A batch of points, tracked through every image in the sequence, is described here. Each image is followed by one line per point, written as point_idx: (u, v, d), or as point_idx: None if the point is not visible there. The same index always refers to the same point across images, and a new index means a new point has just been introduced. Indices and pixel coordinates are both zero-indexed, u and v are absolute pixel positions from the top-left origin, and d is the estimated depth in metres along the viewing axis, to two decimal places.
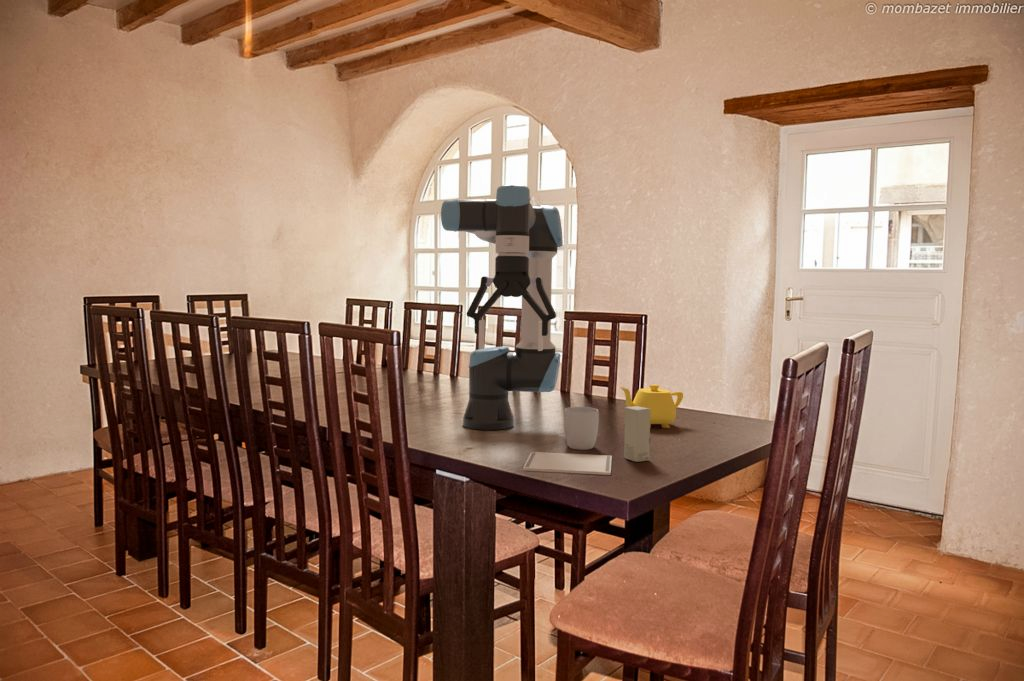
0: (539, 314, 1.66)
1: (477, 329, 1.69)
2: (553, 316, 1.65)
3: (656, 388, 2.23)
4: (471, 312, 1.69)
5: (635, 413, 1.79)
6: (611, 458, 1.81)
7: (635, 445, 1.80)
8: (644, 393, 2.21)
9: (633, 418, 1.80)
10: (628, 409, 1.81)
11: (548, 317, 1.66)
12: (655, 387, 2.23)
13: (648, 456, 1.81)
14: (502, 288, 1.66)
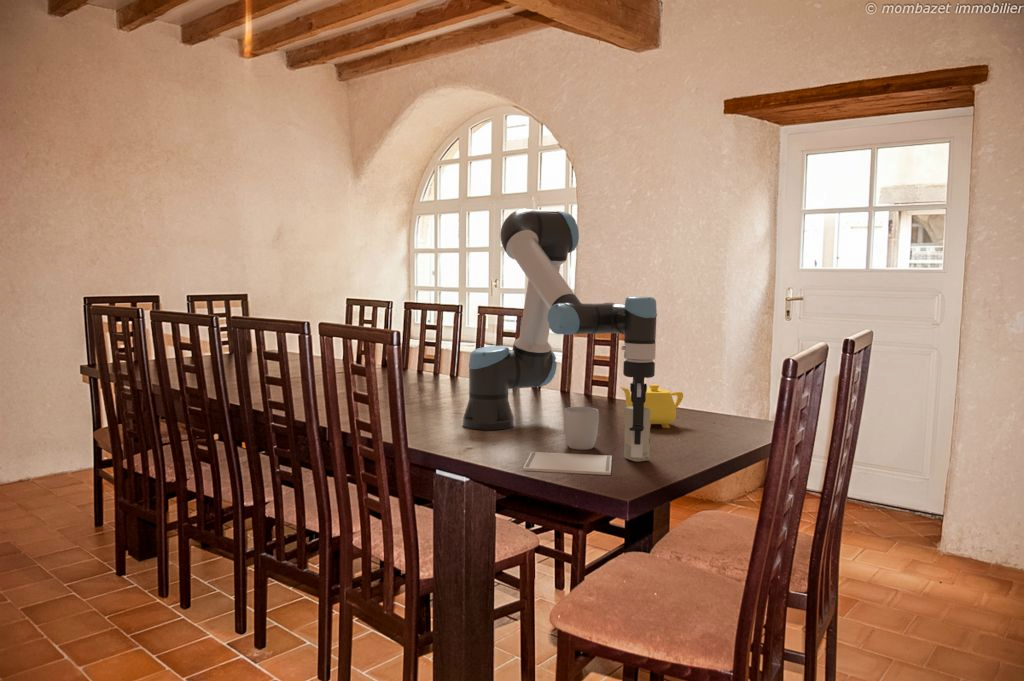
0: None
1: None
2: (632, 427, 1.76)
3: (656, 388, 2.23)
4: None
5: None
6: (611, 458, 1.81)
7: None
8: None
9: None
10: (628, 409, 1.81)
11: None
12: (655, 387, 2.23)
13: (648, 456, 1.81)
14: None
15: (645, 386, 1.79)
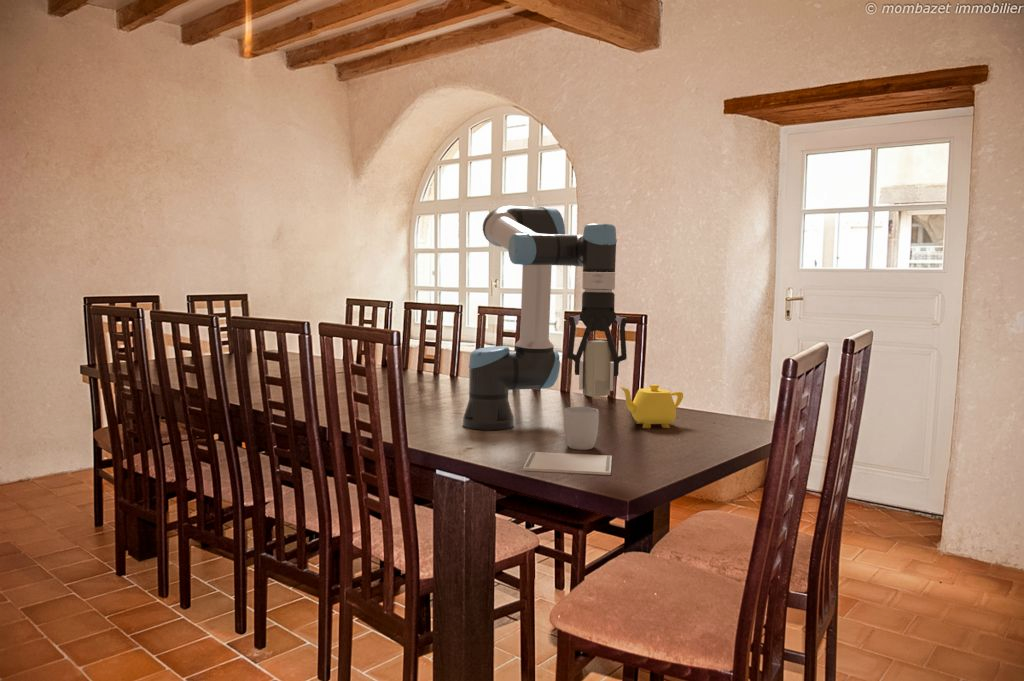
0: (613, 354, 1.72)
1: (577, 370, 1.74)
2: (624, 358, 1.72)
3: (656, 388, 2.23)
4: (571, 353, 1.74)
5: (608, 345, 1.73)
6: (611, 458, 1.81)
7: (608, 378, 1.74)
8: (644, 393, 2.21)
9: (606, 351, 1.73)
10: (599, 343, 1.72)
11: (619, 358, 1.73)
12: (655, 387, 2.23)
13: None
14: (591, 323, 1.72)
15: None
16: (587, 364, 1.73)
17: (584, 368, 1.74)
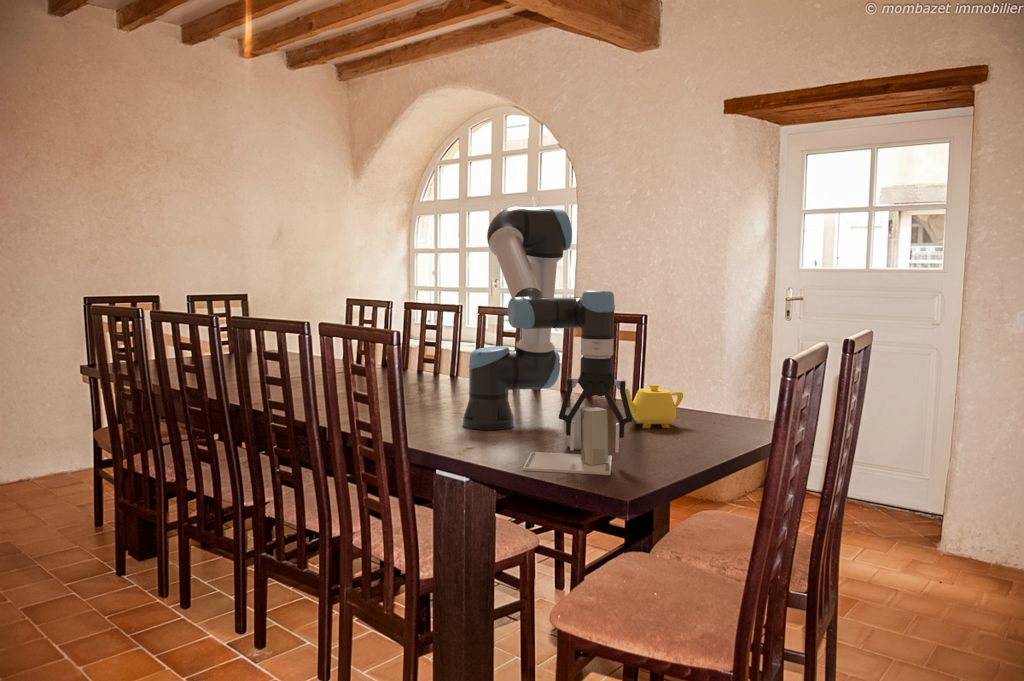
0: (618, 417, 1.73)
1: (568, 431, 1.76)
2: (630, 420, 1.73)
3: (656, 388, 2.23)
4: (563, 414, 1.75)
5: (605, 413, 1.74)
6: (611, 458, 1.81)
7: (606, 445, 1.75)
8: (644, 393, 2.21)
9: (603, 419, 1.74)
10: (596, 412, 1.73)
11: (625, 420, 1.74)
12: (655, 387, 2.23)
13: None
14: (589, 389, 1.73)
15: None
16: (584, 432, 1.75)
17: (582, 436, 1.76)
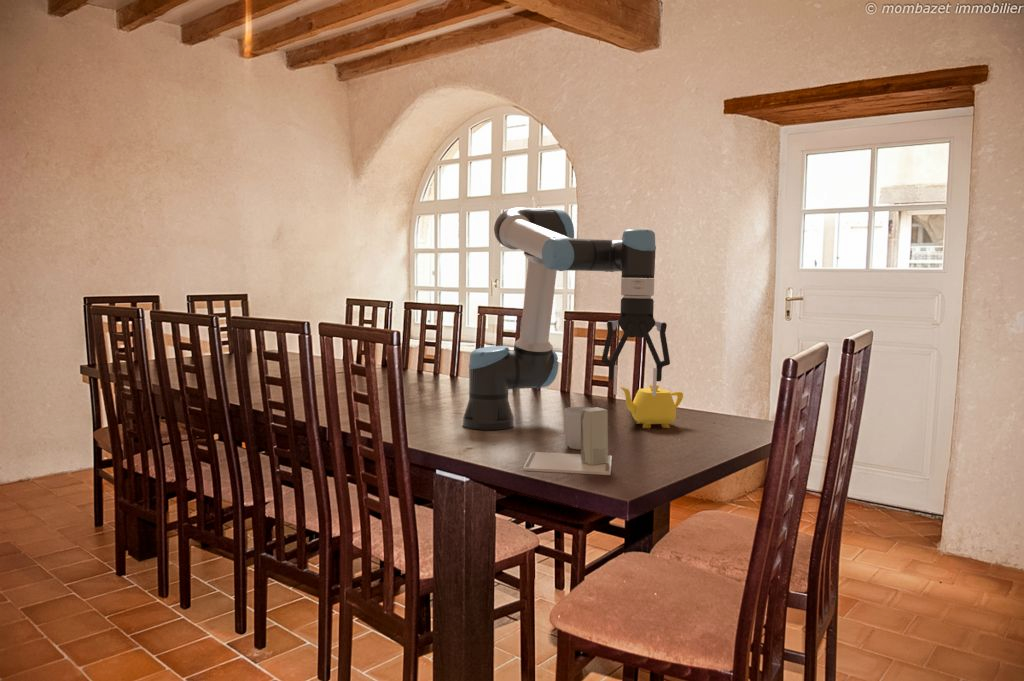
0: (655, 359, 1.71)
1: (611, 375, 1.73)
2: (668, 363, 1.71)
3: (656, 388, 2.23)
4: (605, 358, 1.73)
5: (605, 413, 1.74)
6: (611, 458, 1.81)
7: (606, 445, 1.75)
8: (644, 393, 2.21)
9: (603, 419, 1.74)
10: (596, 412, 1.73)
11: (663, 363, 1.71)
12: None
13: None
14: (630, 330, 1.71)
15: None
16: (584, 432, 1.75)
17: (582, 436, 1.76)
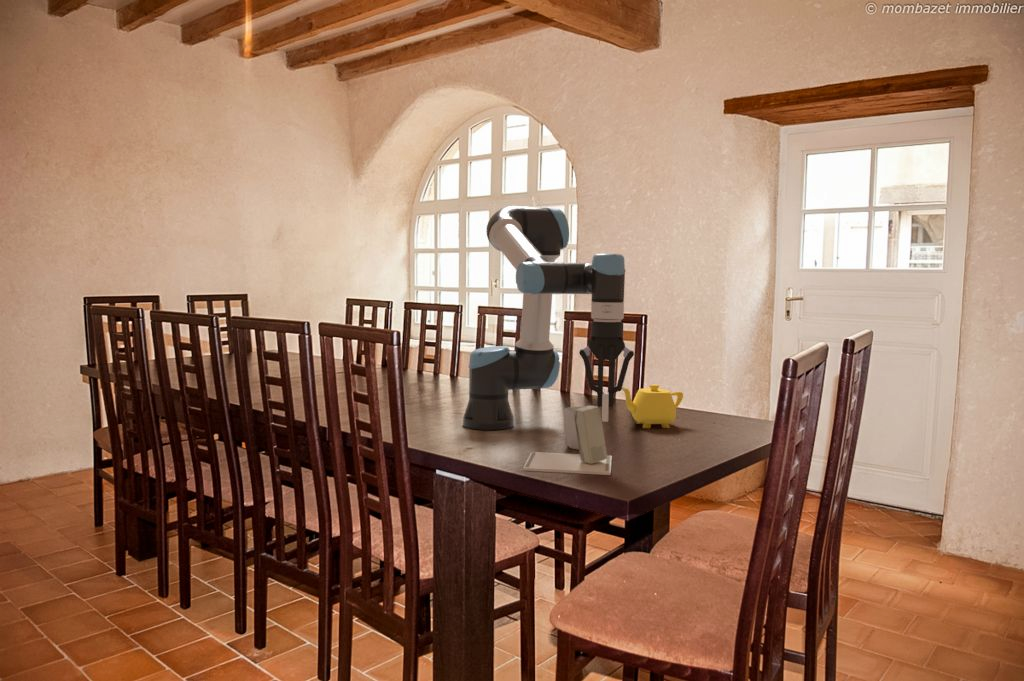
0: (610, 385, 1.73)
1: (600, 402, 1.74)
2: (619, 389, 1.73)
3: (656, 388, 2.23)
4: (593, 385, 1.74)
5: (598, 411, 1.74)
6: (611, 458, 1.81)
7: (603, 442, 1.75)
8: (644, 393, 2.21)
9: (596, 416, 1.74)
10: (589, 411, 1.73)
11: (614, 389, 1.74)
12: (655, 387, 2.23)
13: None
14: (602, 353, 1.72)
15: None
16: (580, 432, 1.75)
17: (578, 436, 1.76)
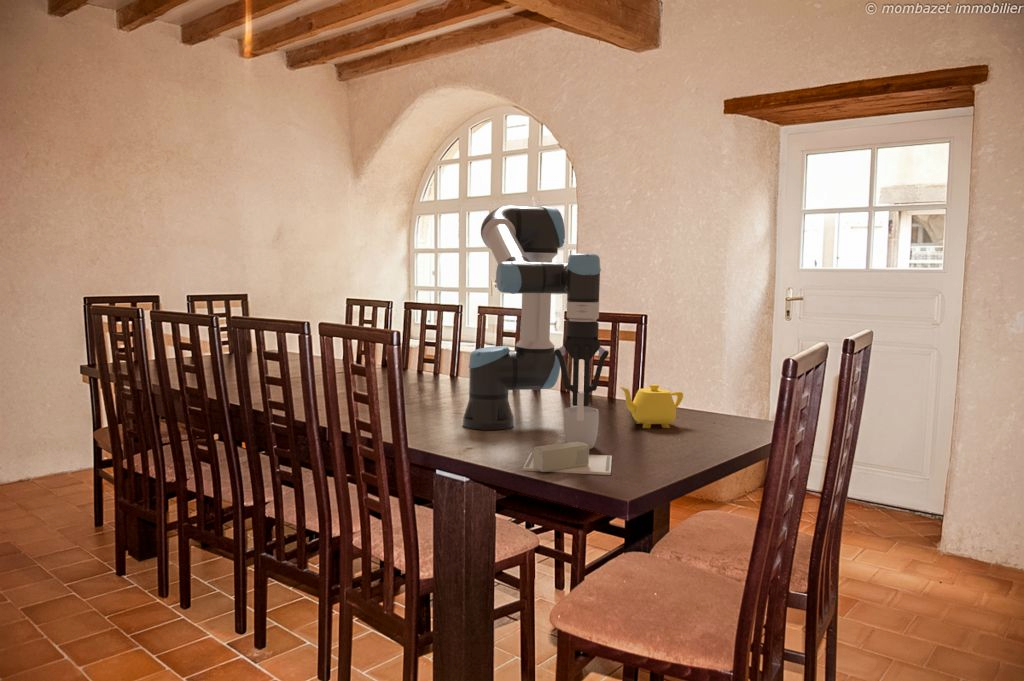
0: (585, 384, 1.74)
1: (575, 401, 1.75)
2: (594, 389, 1.74)
3: (656, 388, 2.23)
4: (568, 384, 1.74)
5: (546, 453, 1.67)
6: (611, 458, 1.81)
7: (575, 448, 1.71)
8: (644, 393, 2.21)
9: (551, 455, 1.68)
10: (544, 464, 1.67)
11: (590, 389, 1.74)
12: (655, 387, 2.23)
13: (577, 442, 1.76)
14: (577, 352, 1.73)
15: None
16: None
17: None
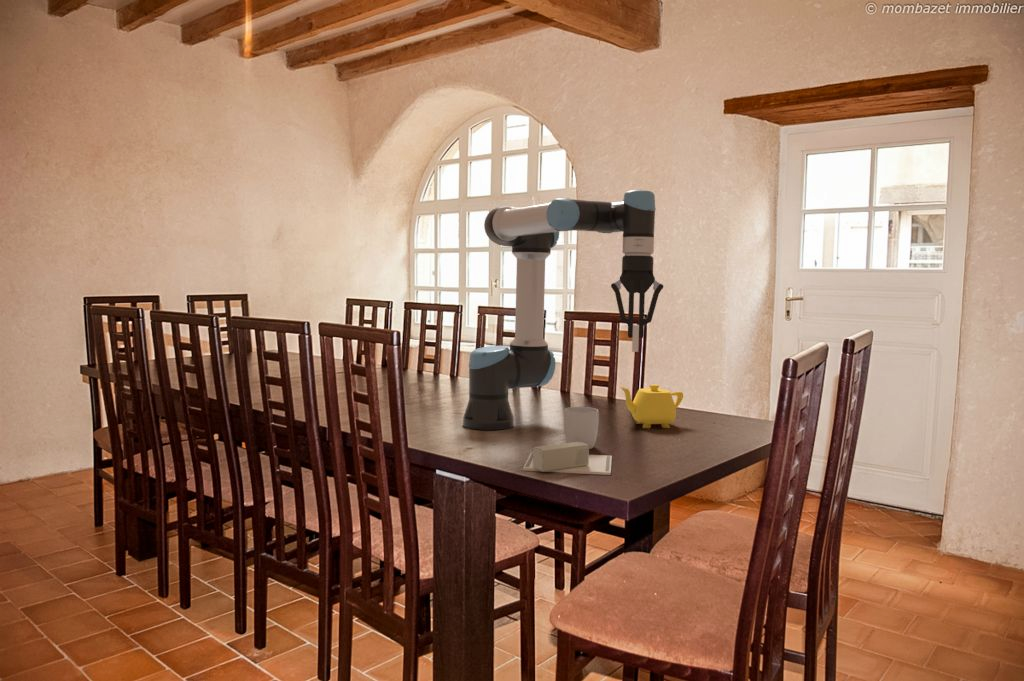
0: (640, 316, 1.81)
1: (630, 333, 1.83)
2: (649, 321, 1.81)
3: (656, 388, 2.23)
4: (624, 316, 1.82)
5: (546, 452, 1.67)
6: (611, 458, 1.81)
7: (574, 448, 1.71)
8: (644, 393, 2.21)
9: (551, 455, 1.68)
10: (543, 464, 1.67)
11: (644, 321, 1.82)
12: (655, 387, 2.23)
13: (576, 442, 1.76)
14: (632, 286, 1.81)
15: None
16: None
17: None
